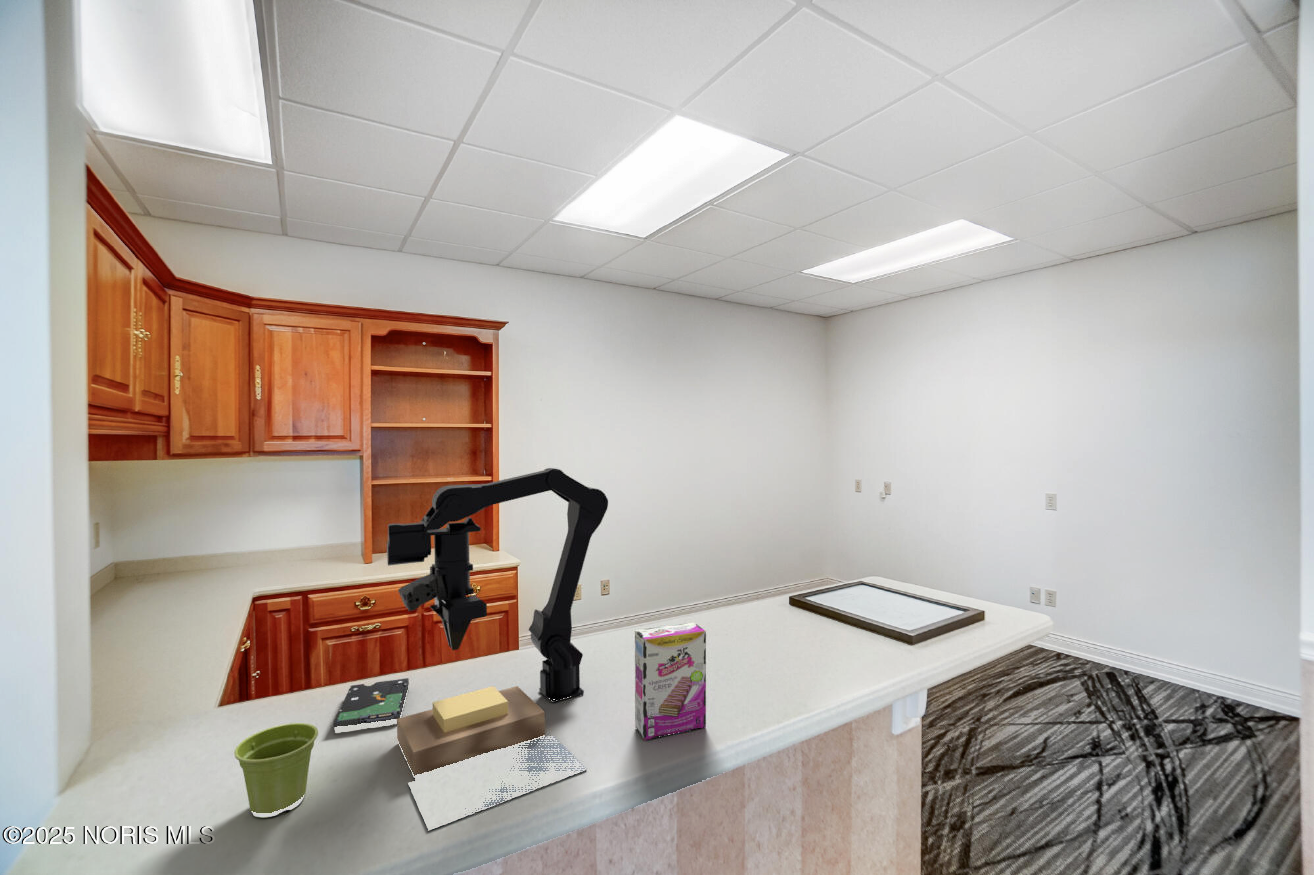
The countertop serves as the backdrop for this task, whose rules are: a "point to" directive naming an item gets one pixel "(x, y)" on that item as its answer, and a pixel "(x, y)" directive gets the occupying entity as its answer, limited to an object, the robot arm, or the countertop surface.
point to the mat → (540, 759)
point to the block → (469, 708)
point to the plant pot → (276, 765)
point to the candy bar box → (670, 679)
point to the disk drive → (372, 703)
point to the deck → (468, 734)
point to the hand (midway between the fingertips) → (453, 648)
